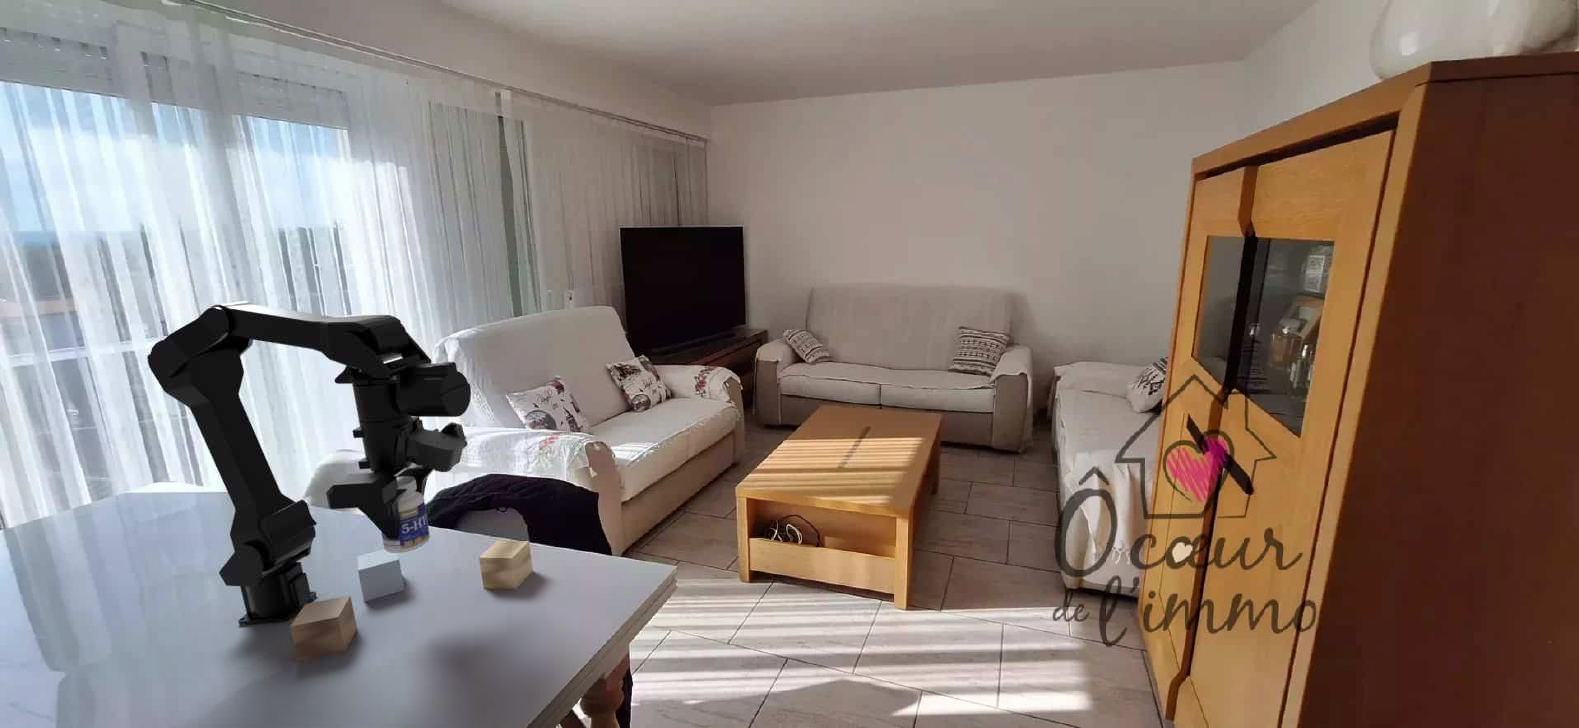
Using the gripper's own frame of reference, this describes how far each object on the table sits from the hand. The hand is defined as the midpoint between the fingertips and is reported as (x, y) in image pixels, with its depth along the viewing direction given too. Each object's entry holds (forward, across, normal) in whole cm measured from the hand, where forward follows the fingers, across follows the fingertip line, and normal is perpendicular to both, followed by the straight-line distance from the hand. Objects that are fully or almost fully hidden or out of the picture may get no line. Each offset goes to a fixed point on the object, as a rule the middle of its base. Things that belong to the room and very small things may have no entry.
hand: (405, 528), depth 84 cm
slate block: (+13, +8, +9) cm, 18 cm away
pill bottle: (+2, 0, 0) cm, 2 cm away
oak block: (+13, +8, -9) cm, 18 cm away
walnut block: (+13, -5, +9) cm, 17 cm away
